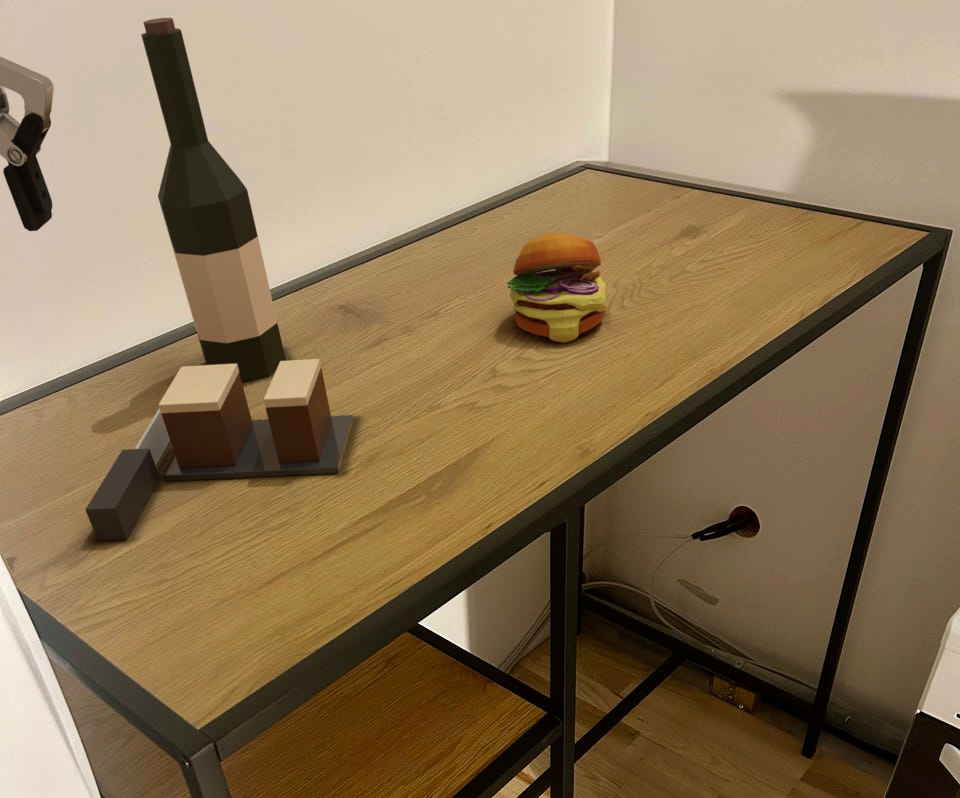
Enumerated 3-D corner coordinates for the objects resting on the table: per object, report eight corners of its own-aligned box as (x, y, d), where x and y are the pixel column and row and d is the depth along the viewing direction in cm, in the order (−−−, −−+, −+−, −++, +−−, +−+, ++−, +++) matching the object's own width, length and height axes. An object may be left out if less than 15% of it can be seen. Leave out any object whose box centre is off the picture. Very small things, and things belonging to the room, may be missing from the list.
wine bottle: (278, 380, 94) (195, 25, 74) (196, 385, 95) (91, 34, 75) (293, 344, 100) (219, 7, 81) (216, 349, 101) (124, 16, 81)
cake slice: (279, 463, 81) (263, 399, 77) (294, 422, 86) (279, 360, 82) (319, 461, 81) (305, 396, 77) (332, 420, 86) (319, 358, 82)
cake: (178, 468, 82) (157, 404, 78) (200, 427, 87) (181, 366, 83) (235, 465, 81) (217, 401, 77) (253, 425, 87) (237, 363, 83)
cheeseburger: (513, 349, 95) (504, 242, 90) (509, 331, 104) (501, 233, 100) (614, 339, 95) (611, 230, 90) (602, 322, 104) (598, 222, 99)
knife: (127, 540, 75) (114, 508, 73) (98, 541, 75) (84, 509, 73) (188, 426, 89) (179, 397, 87) (163, 427, 89) (153, 398, 87)
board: (166, 481, 81) (164, 475, 81) (194, 428, 88) (192, 422, 88) (338, 473, 80) (337, 467, 80) (353, 420, 87) (352, 414, 87)
